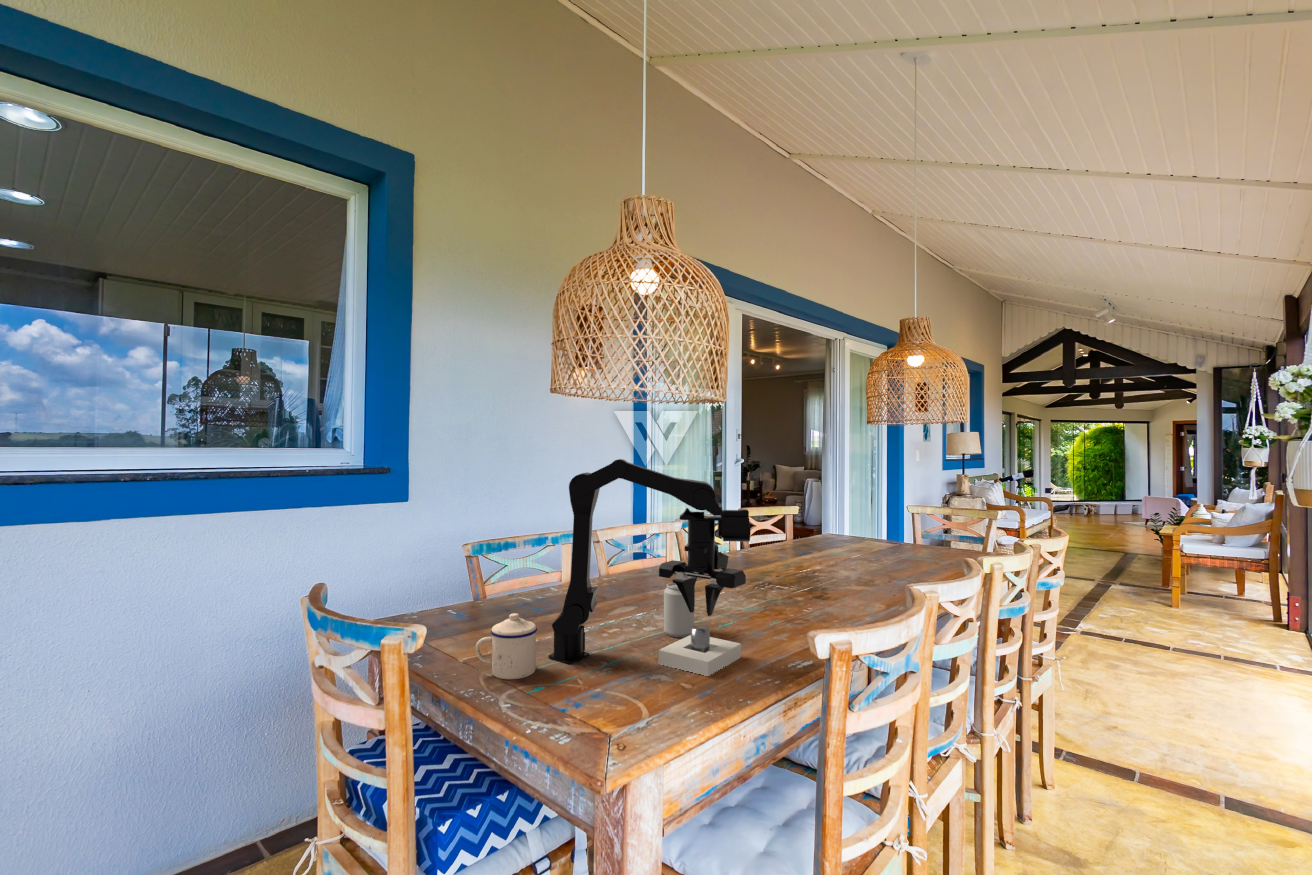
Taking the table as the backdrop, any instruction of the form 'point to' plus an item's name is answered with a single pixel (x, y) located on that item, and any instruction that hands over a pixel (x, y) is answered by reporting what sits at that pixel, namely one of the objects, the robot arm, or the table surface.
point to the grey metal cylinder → (700, 638)
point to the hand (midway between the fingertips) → (700, 613)
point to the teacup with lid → (511, 648)
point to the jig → (700, 656)
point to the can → (676, 613)
